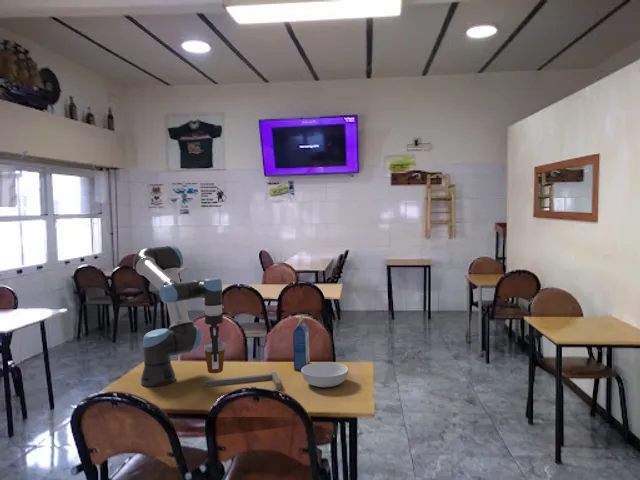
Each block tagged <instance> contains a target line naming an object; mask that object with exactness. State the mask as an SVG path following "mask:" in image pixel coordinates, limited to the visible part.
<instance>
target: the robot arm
mask: <svg viewBox="0 0 640 480" xmlns="http://www.w3.org/2000/svg"><path fill="white" fill-rule="evenodd" d="M183 265H184V257H183V254H182V252H181V250H180V249H179V248H178V247H176V246H173V245H172V246H171V245H165V246H157V247H144V248H142V249H141V250H139V251H137V252H136V253H135V255H134V257H133V260H132V266H133V269H134V270H135V271H136V272H137V274H138V275H140V276H144V277H145V278H146V279H147V280H148V281H149V282H150V283H151V284H153V286H154V287H156V288H157V289H158V290H159V298H160V301H161V302H163V303H164V304H166V306H167V312H168V316H169V320H170V326H169V327H168V328H158V329H154V330H153V329H152V330H151V331H149V332H147V333H145V335H144V336H143V340H142V341H143V343H142V347H143V362H144V367H143V371H142V374H141V377H140V384H141V385H142V386H143V387H153V388H154V387H162V386H166V385H169V384H171V383H173V382H175V381H176V372H175V370H174V367H173V365H172V362H171V361H172V360H171V359H172V358H171V357H174V356H178V355H181V354H186V353H191V352H193V351H194V352H195V351H196V350H198V349H199V348H200V346H201V342H202V332H201V329H200V327H199V326H197V325H195V324H194V321H193V320H191V319H190V318H189V314H188V308H187V304H186V301H187V300H188V301H189V300H194V299H195V300H196V299H204V305H203V306H204V307H203V308H204V314H205V315H204V323H205V324H206V325H208V326H209V325H210V326H209V335H210V340H211V342H212V353H210V355H212V369H219V360H218V341H219V340H218V339H219V332H220V326H218V325H220V324H223V322H224V318H223V317H224V315H223V309H224V307H225V306H224V305H223V285H222V279H221V278H219V277H207V278H205V279H204V280H202V279H193V280H192V281H187V282H181V280H180V276H179V273H180V272H181V269H182V267H183Z"/></svg>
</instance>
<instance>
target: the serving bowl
mask: <svg viewBox="0 0 640 480" xmlns="http://www.w3.org/2000/svg"><path fill="white" fill-rule="evenodd" d="M300 371H301V375H302V378H303V380H304V381H305V382H306V383H307V384H309V385H310V386H313V387H319V388H330V387H335V386H338V385H340V384H342V383H344V381H345V380H347V378H348V376H349V368H348V367H347V366H346V365H345V364H342V363H339V362H333V361H332V362H331V361H318V362H312V363H309V364H308V365H306V366H304V367H303V368H302V369H301V370H300Z"/></svg>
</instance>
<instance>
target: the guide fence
mask: <svg viewBox="0 0 640 480" xmlns="http://www.w3.org/2000/svg"><path fill="white" fill-rule="evenodd" d="M269 380H270V381H272V383H273V385H274V388H275V390H276V391H281V390H282V385H281V383H282V382H281V380H280V378H279V377H278V373H277V371H271V373H266V374H258V375H257V374H256V375H255V374H254V375H244V376H237V377H229V378H228V377H227V378H218V379H217V378H216V379H209V380H207V379H206V380H204V387H213V386H222V385H233V384H241V383H252V382H260V381H269Z"/></svg>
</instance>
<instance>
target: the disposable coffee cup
mask: <svg viewBox="0 0 640 480" xmlns="http://www.w3.org/2000/svg"><path fill="white" fill-rule="evenodd" d="M226 347H227V345H226V342H224V341H219V340H218V360H219V369H212V355H210V353H212V341H210V342H206V343H205V344H204V345H203V350H204V354H205V362H206V367H207V373H209V374H219V373H222V372H223V371H224V361H225V360H224V359H225V351H226V350H225V349H226Z"/></svg>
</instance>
